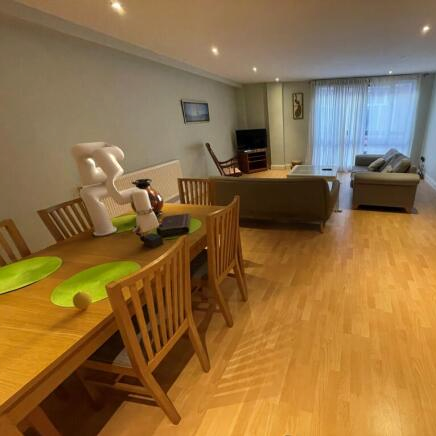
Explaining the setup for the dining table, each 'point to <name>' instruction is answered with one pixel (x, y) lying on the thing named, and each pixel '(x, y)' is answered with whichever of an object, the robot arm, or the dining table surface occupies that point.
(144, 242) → the pad base
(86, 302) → the brown egg shape
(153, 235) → the pad mid
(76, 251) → the dining table surface
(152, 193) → the amphora vase
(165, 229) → the diary
